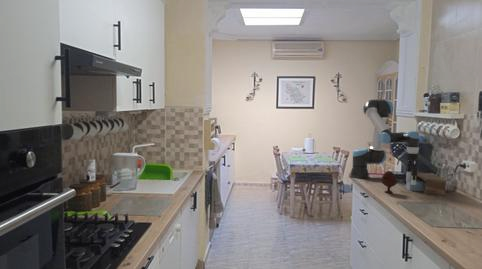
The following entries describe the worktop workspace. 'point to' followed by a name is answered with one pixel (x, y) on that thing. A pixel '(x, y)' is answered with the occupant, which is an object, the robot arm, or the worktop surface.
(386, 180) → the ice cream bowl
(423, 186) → the grey slate tile
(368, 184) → the worktop surface
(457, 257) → the worktop surface
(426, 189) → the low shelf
